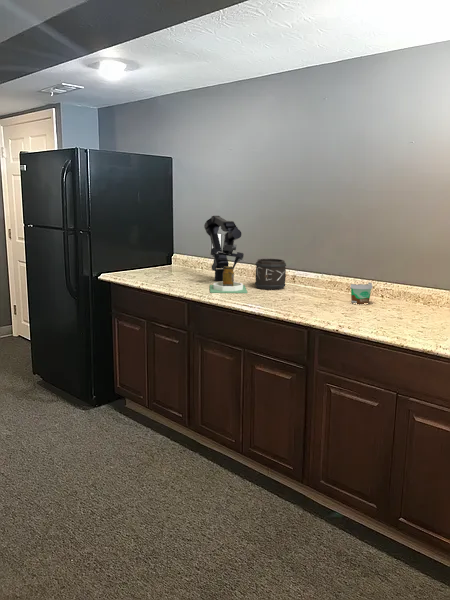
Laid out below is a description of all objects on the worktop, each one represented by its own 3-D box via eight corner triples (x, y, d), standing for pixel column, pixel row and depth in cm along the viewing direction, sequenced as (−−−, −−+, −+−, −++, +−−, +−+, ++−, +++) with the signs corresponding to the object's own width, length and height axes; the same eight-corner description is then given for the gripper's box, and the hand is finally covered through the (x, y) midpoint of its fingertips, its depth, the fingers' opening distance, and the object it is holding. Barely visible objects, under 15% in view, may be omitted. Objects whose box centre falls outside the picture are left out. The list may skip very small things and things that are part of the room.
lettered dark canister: (249, 289, 290) (250, 261, 287) (259, 284, 306) (260, 257, 303) (280, 291, 283) (281, 263, 280) (289, 286, 300) (290, 259, 296)
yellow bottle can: (228, 286, 293) (229, 265, 291) (238, 288, 287) (239, 267, 285) (219, 288, 289) (219, 266, 286) (229, 290, 282) (229, 268, 280)
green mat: (209, 285, 298) (209, 284, 298) (244, 286, 299) (244, 285, 299) (210, 292, 277) (210, 291, 277) (247, 293, 278) (247, 292, 277)
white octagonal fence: (213, 285, 295) (213, 281, 295) (241, 286, 296) (241, 281, 295) (213, 290, 280) (213, 286, 279) (243, 291, 280) (243, 286, 280)
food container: (357, 306, 250) (358, 285, 248) (348, 303, 255) (350, 283, 253) (376, 304, 255) (378, 284, 253) (368, 301, 261) (369, 282, 259)
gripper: (213, 235, 291) (209, 262, 288) (246, 240, 291) (242, 267, 288) (212, 241, 302) (208, 267, 299) (244, 246, 302) (240, 272, 299)
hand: (224, 268), depth 296 cm, fingers open, 9 cm apart
